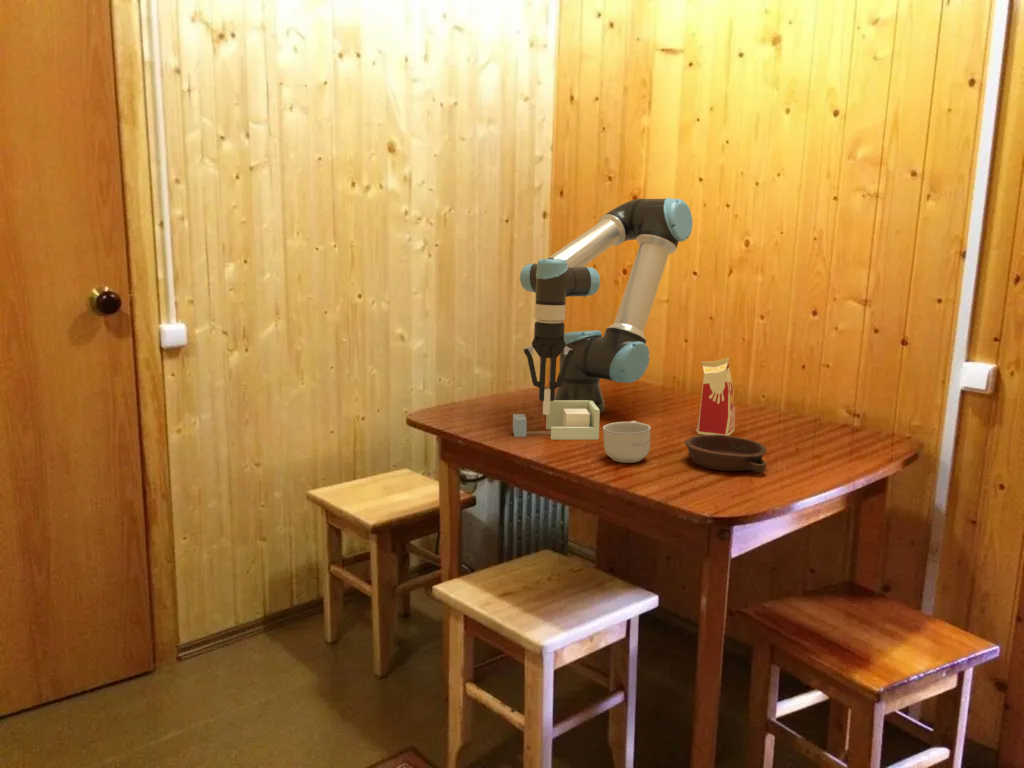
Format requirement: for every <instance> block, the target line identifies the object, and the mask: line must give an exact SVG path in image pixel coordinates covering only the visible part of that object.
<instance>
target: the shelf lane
mask: <svg viewBox="0 0 1024 768" xmlns="http://www.w3.org/2000/svg"><path fill="white" fill-rule="evenodd" d="M563 409H587V411H588V412H589V413H590V424H589V427H563ZM600 414H601V413H600V410H599V408H598V407H597V406H596V405H595V403H594V402H593V401H592V400H554V401H550V414H549V415H545V416H546V419H545V429H546V430H550V431H551V435H550V440H557V441H558V440H561V441H562V440H565V441H566V440H567V441H568V440H573V441H574V440H575V441H577V440H587V441H588V440H595V441H596V440H599V438H600Z"/></svg>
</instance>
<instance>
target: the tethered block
mask: <svg viewBox="0 0 1024 768" xmlns="http://www.w3.org/2000/svg"><path fill="white" fill-rule="evenodd" d="M527 422H528V421H527V417H526V414H525V413H513V414H512V433H514V434H513V436H514V438H526V437H527V436H530V435H531V436H533V435H534V436H541V435H542V436H543V435H544V436H546V435H548V436H549V435H550V436H551V430H549V431H548V430H531V431H530V430H529V431H528V429H527V427H528V426H527ZM589 424H590V413H589V412H588V411H587V409H563V427H589Z"/></svg>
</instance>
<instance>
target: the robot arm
mask: <svg viewBox="0 0 1024 768" xmlns="http://www.w3.org/2000/svg"><path fill="white" fill-rule="evenodd" d="M692 231H693V215H692V211H691V209H690V207H689V205H688V204H687V202H686V201H685V200H683V199H681V198H672V197H667V198H636V199H632V200H631V199H630V200H629V201H626V202H624V203H622V204H620V205H618V206H617V207H615V208H613V209H611V210H610V211H608V212H606V213H605V214H604V215H602V216H601V217H600V218H599V220H598V222H597V223H596V224H595V225H594V226H592V227H591V228H590V229H588V230H586V231H585V232H584V233H582V234H581V235H579V236H578V237H576V238H575V239H573V240H572V241H570V242H569V243H568V244H566V245H565V246H563V247H562V248H560V249H559V250H558V251H556V252H555V253H553V254H552V255H550V256H549V257H547V258H540V259H539V260H538V261H537V263H530V264H529V263H528V264H526V265H524V266H523V267H522V269H521V270H520V275H519V281H520V285H521V287H522V289H524V290H525V291H527V292H530V293H535V305H534V307H535V309H534V319H535V320H536V321H535V322H534V328H533V329H534V330H533V331H534V333H533V334H534V335H533V340H532V341H531V344H530V345H529V346H527V347H524V348H523V349H522V351H523V353H524V354H525V357H526V359H527V363H528V368H529V373H530V377H531V383H532V385H533V386H534V387H536V388H538V392H539V393H538V399H539V402H542V414H543V415H544V416H546V415H549V414H550V401H554V400H592V401H593V402H594V403H595V405H596V406H597V407H598V408H599V410H600V414H602V413H603V412H605V404H606V403H605V401H604V397H603V392H602V389H601V385H600V379H602V380H606V381H613V382H616V383H624V384H625V383H626V384H632V383H634V382H636V381H637V380H640V379H641V378H642V377H643V375H644V374H645V373H646V371H647V369H648V368H649V364H650V358H651V357H650V354H651V352H650V349H649V347H648V346H647V344H646V343H647V338H646V336H645V334H644V332H645V329H646V327H647V324H648V323H647V322H648V320H649V317H650V314H651V310H652V308H653V304H654V302H655V299H656V295H657V292H658V289H659V286H660V283H661V279H662V277H663V273H664V271H665V269H666V264H667V261H668V258H669V256H670V255H671V254H673V253H675V252H676V251H677V248H678V245H679V243H680V242H681V243H682V242H685V241H687V239H689V237H690V236H691V234H692ZM633 240H636V242H637V243H638V246H639V247H638V249H637V252H636V255H635V259H634V261H633V264H632V266H631V267H632V268H631V270H630V274H629V276H628V280H627V283H626V286H625V289H624V292H623V295H622V298H621V300H620V303H619V307H618V310H617V312H616V316H615V318H614V322H613V324H610V325H609V326H607V327H606V329H605V332H604V334H602V331H601V330H598V329H597V330H595V329H594V330H579V331H567V332H565V323H564V321H565V320H566V304H567V303H566V302H567V297H583V298H584V297H588V296H594V294H596V293H597V292H598V291H599V289H600V286H601V277H600V276H601V275H600V274H599V272H598V271H597V270H596V269H595V268H593V267H590V266H586V265H587V264H589V263H590V262H591V261H592V260H594V259H596V258H597V257H598V256H601V254H603V253H604V252H606V251H607V250H608V249H610V248H611V247H612V246H620V245H621V244H623V243H624V242H628V241H633ZM534 351H535V352H536V354H537V355H538V357H539V380H538V376H537V373H536V367H535V362H534V358H533V354H534ZM558 357H559V372H558V375H557V378H556V371H557V358H558ZM547 359H549V380H548V381H549V382H548V384H549V385H548V386H549V387H546V371H547V366H546V365H547Z"/></svg>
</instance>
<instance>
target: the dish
mask: <svg viewBox="0 0 1024 768" xmlns="http://www.w3.org/2000/svg"><path fill="white" fill-rule="evenodd" d="M684 444H685V446H686V447H687V449H688V454H689V456H690V458H691V460H692V462H693V463H695V464H696V465H698V466H700V467H702V468H706V469H708V470H714V471H722V472H745V471H753V472H758V473H762V472H765V471H766V467H767V462H765V461H764V460H763V459H762V458H763V456H764V455H765V454H767V450H768V449H767V447H766V446H765V445H764V444H762V443H760V442H758V441H755V440H752V439H749V438H744V437H739V436H733V435H729V436H727V435H702V434H698V435H694V436H691V437H689V438H687V439H686V440H685V441H684Z"/></svg>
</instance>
